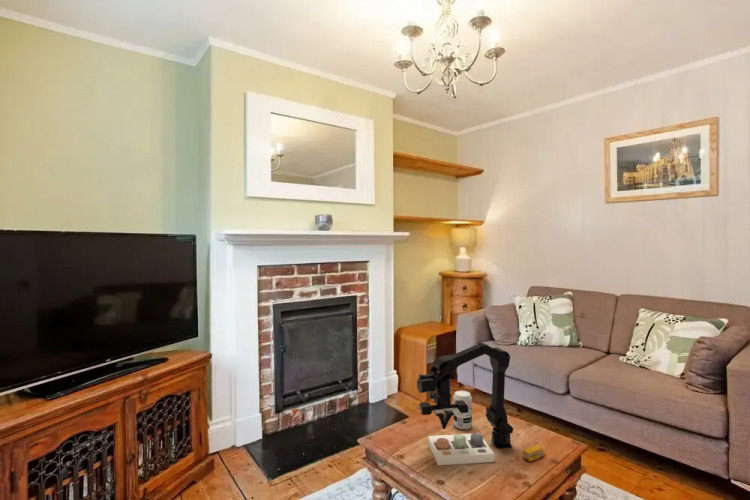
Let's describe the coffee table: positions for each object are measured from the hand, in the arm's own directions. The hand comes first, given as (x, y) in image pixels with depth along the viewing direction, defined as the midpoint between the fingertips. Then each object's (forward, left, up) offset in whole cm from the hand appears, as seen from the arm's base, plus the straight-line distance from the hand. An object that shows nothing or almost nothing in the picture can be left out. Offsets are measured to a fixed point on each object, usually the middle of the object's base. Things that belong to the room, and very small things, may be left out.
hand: (443, 428), depth 153 cm
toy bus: (-34, +7, -10) cm, 36 cm away
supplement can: (-15, -21, -10) cm, 27 cm away
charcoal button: (-14, 0, -7) cm, 15 cm away
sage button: (-7, 0, -7) cm, 10 cm away
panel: (-7, 0, -10) cm, 12 cm away
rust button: (0, 0, -8) cm, 8 cm away
